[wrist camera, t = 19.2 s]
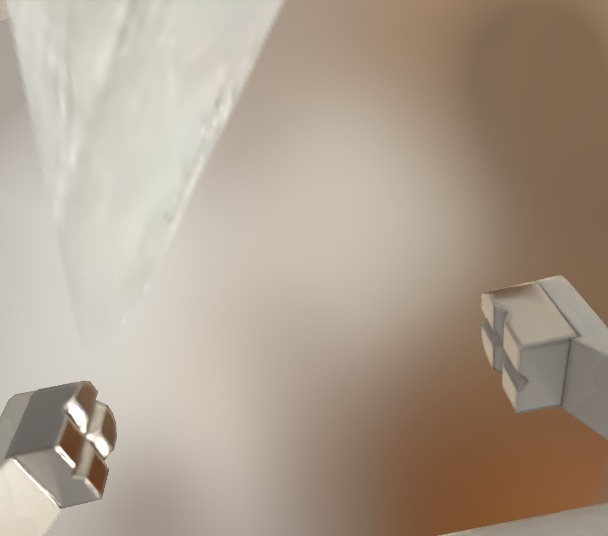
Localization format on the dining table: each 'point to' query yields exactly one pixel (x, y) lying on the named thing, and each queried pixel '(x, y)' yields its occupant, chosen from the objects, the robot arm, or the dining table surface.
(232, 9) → the dining table surface
